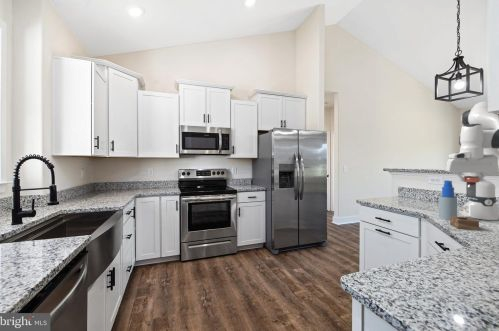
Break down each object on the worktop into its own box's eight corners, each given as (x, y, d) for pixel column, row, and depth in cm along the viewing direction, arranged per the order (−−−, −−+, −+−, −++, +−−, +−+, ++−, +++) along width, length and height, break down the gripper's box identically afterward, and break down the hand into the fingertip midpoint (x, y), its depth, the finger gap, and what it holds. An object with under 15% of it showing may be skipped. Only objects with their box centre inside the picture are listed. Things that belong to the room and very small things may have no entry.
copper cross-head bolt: (467, 197, 116) (467, 176, 116) (460, 195, 122) (460, 175, 121) (482, 198, 114) (482, 176, 114) (474, 196, 120) (475, 175, 119)
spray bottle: (437, 216, 153) (437, 179, 153) (453, 217, 150) (454, 180, 149) (441, 219, 145) (441, 181, 144) (459, 221, 141) (459, 181, 141)
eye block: (450, 224, 135) (450, 216, 134) (469, 225, 131) (469, 217, 131) (458, 229, 126) (458, 220, 126) (478, 230, 123) (478, 221, 123)
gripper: (493, 154, 117) (493, 181, 117) (444, 155, 124) (444, 180, 124) (502, 154, 111) (501, 182, 111) (450, 155, 118) (450, 181, 118)
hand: (471, 181), depth 118 cm, fingers closed on copper cross-head bolt, 6 cm apart
